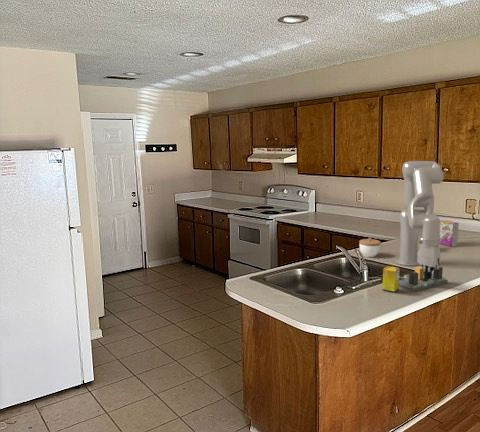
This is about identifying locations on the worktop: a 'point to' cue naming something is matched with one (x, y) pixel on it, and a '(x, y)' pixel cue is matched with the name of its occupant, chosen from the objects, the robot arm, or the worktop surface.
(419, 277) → the handle
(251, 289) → the worktop surface
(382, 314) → the worktop surface
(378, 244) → the lidded bowl
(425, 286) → the compartment sorting tray
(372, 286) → the worktop surface
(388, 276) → the supplement box
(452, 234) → the candy bar box
